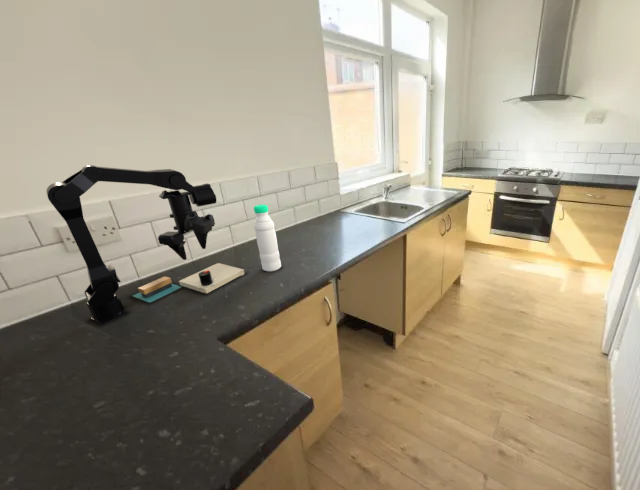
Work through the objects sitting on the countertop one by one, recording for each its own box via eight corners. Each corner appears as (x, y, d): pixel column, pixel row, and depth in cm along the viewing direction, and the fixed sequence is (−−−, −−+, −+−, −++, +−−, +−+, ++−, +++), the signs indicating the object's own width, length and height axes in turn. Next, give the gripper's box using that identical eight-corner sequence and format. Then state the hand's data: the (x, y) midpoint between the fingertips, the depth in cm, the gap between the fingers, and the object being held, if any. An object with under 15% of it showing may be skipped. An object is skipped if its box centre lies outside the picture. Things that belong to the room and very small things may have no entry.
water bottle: (284, 264, 126) (274, 203, 116) (277, 272, 120) (265, 208, 110) (267, 264, 127) (255, 203, 117) (259, 272, 121) (246, 208, 110)
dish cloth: (150, 303, 102) (149, 302, 102) (132, 296, 106) (131, 295, 106) (182, 287, 111) (182, 286, 111) (165, 282, 115) (164, 281, 115)
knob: (206, 286, 107) (202, 275, 105) (199, 284, 109) (195, 273, 107) (215, 282, 110) (212, 271, 108) (208, 280, 112) (205, 269, 110)
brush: (146, 298, 104) (143, 290, 103) (140, 296, 105) (137, 288, 104) (173, 286, 111) (170, 277, 110) (167, 284, 113) (164, 276, 111)
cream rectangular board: (206, 296, 105) (204, 290, 105) (177, 287, 112) (176, 281, 111) (246, 274, 119) (245, 269, 118) (219, 267, 125) (217, 262, 124)
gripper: (182, 219, 92) (196, 267, 99) (222, 202, 109) (232, 244, 116) (149, 218, 94) (165, 265, 101) (194, 202, 111) (205, 243, 118)
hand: (194, 254), depth 109 cm, fingers open, 9 cm apart
